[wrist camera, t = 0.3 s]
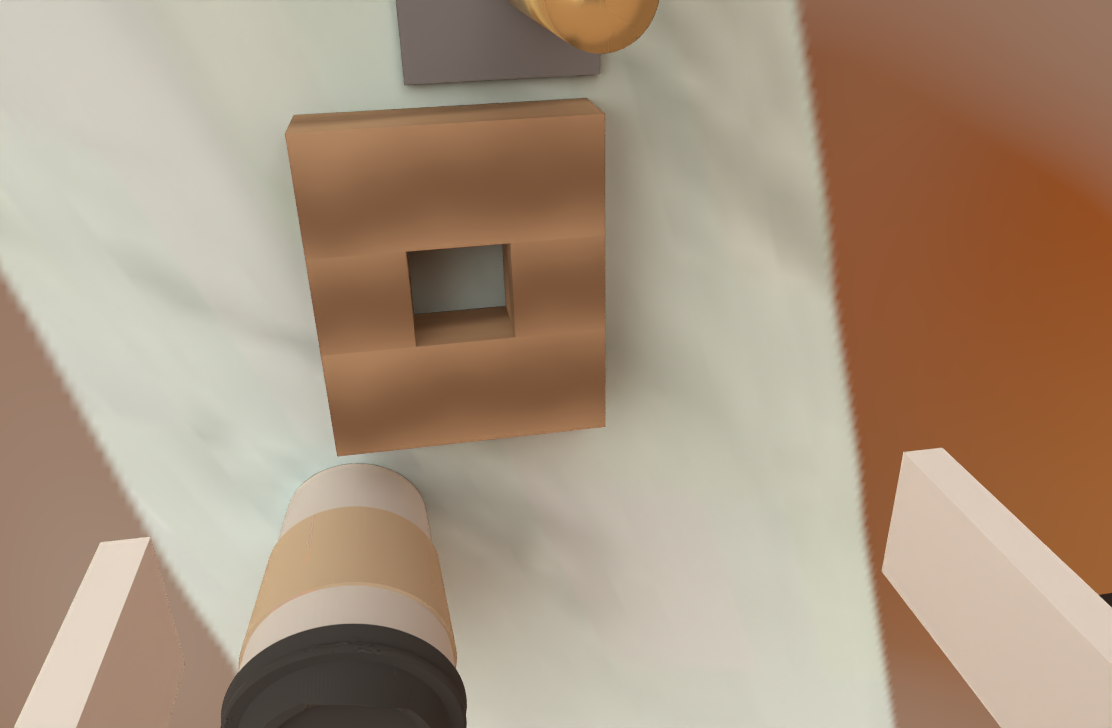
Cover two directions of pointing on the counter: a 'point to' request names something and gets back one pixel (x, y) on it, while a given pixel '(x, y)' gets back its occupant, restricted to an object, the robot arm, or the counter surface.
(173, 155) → the counter surface
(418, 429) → the hole block
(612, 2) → the peg
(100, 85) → the counter surface
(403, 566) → the coffee cup
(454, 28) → the mat
